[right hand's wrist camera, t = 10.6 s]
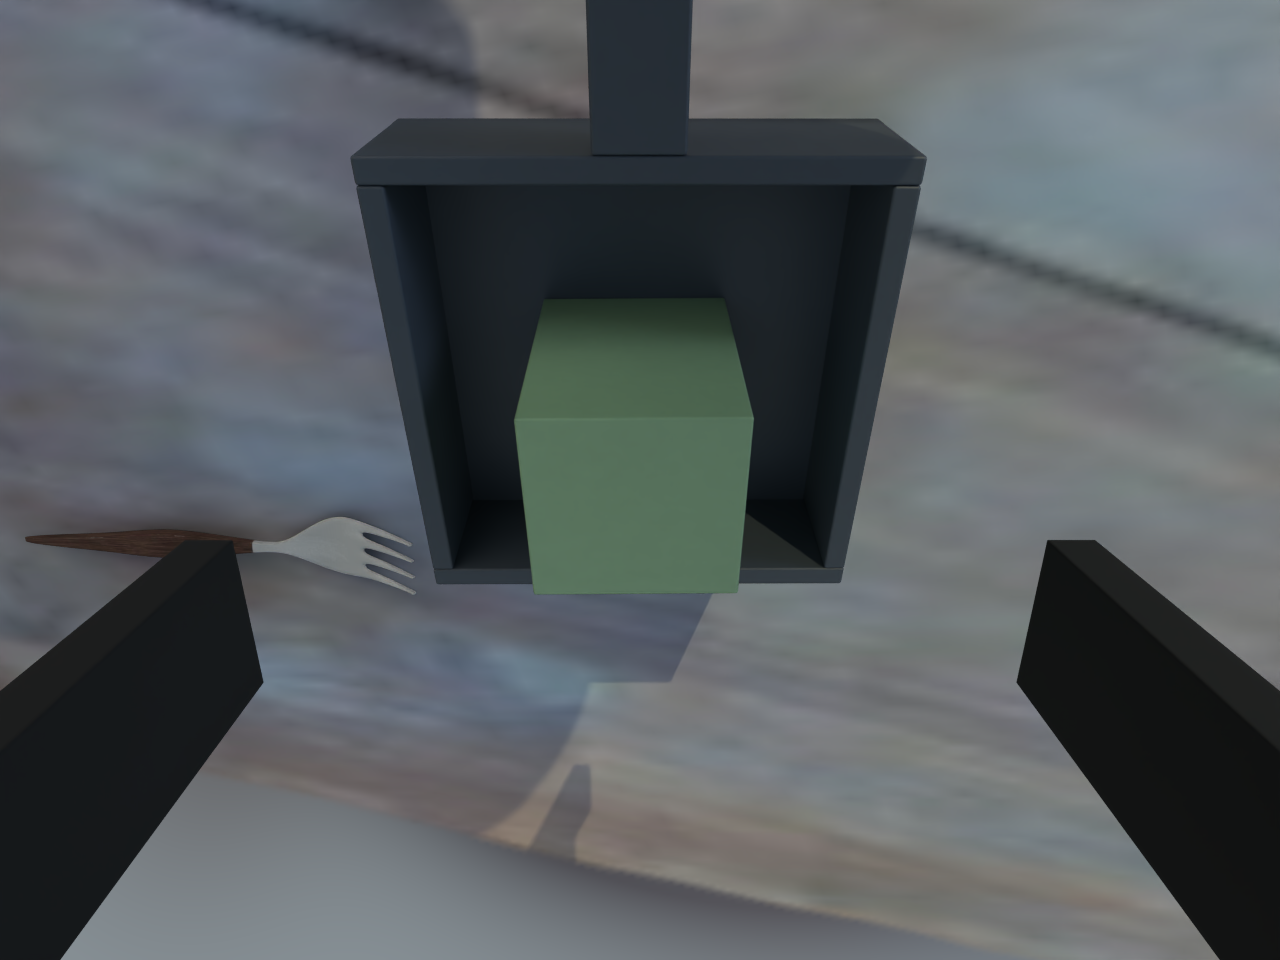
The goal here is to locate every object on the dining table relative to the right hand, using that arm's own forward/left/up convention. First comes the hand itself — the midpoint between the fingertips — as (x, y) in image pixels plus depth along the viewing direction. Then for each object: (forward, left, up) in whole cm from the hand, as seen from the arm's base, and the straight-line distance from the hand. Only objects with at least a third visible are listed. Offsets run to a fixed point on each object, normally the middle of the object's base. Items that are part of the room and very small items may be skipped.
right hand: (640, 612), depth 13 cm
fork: (-4, +18, -18) cm, 25 cm away
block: (+1, 0, -11) cm, 11 cm away
